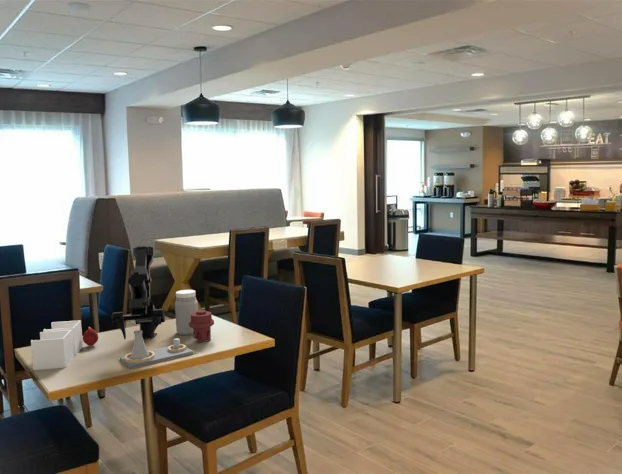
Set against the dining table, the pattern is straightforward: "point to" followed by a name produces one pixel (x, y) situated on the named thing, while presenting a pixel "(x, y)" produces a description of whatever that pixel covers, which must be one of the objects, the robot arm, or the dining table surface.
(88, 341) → the onion
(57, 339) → the storage container
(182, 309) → the jar
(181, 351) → the board
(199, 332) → the mechanical component
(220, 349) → the dining table surface
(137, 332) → the flask
